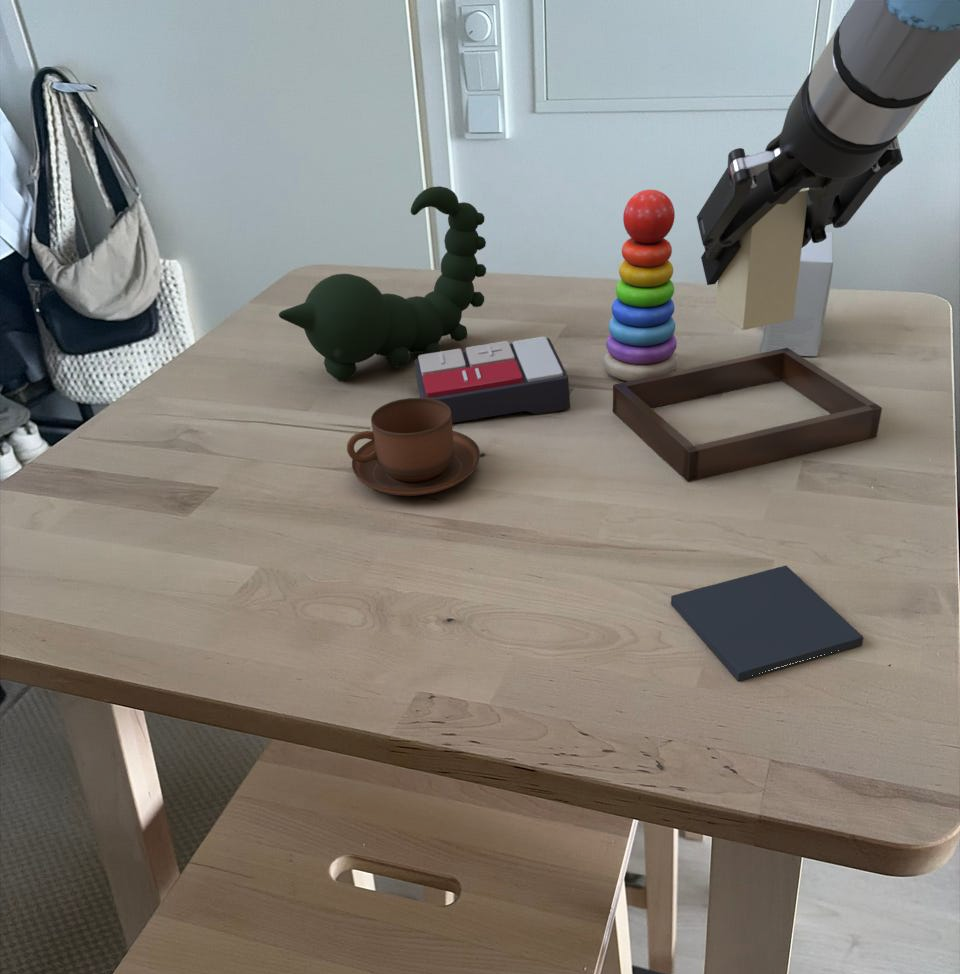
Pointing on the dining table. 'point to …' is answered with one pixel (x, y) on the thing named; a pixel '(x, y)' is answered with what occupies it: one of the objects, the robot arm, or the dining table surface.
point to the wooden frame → (842, 426)
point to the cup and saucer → (413, 449)
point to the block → (765, 268)
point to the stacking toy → (644, 293)
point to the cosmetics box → (805, 303)
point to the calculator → (495, 379)
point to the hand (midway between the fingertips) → (740, 265)
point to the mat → (765, 622)
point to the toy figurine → (396, 301)
